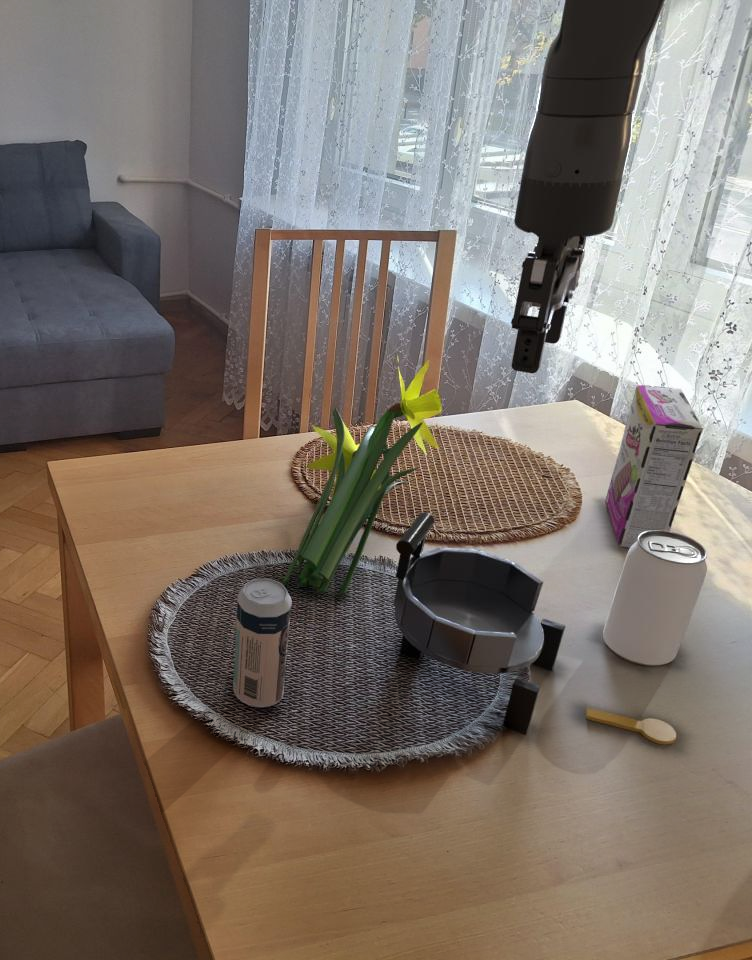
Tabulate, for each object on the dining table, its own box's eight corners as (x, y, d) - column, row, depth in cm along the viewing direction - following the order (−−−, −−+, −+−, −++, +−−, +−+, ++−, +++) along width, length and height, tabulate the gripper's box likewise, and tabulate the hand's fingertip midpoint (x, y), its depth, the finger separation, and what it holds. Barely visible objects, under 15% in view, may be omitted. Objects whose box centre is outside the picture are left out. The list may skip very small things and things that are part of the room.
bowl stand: (554, 665, 84) (565, 625, 81) (525, 735, 76) (537, 692, 74) (421, 619, 90) (428, 580, 88) (383, 678, 83) (389, 638, 80)
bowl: (557, 615, 82) (581, 539, 78) (522, 695, 73) (548, 615, 69) (416, 566, 89) (431, 494, 85) (368, 633, 80) (382, 556, 76)
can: (681, 674, 82) (720, 571, 76) (605, 660, 84) (637, 558, 78) (668, 633, 87) (704, 533, 81) (597, 620, 89) (627, 522, 83)
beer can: (292, 704, 80) (302, 601, 74) (245, 716, 79) (251, 612, 73) (270, 671, 84) (277, 571, 78) (224, 682, 83) (229, 581, 77)
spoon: (587, 701, 79) (586, 704, 79) (587, 721, 77) (586, 725, 77) (675, 723, 76) (673, 726, 76) (678, 745, 74) (676, 748, 74)
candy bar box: (601, 501, 110) (635, 383, 102) (645, 507, 108) (683, 387, 100) (615, 548, 101) (653, 422, 93) (663, 555, 99) (707, 427, 91)
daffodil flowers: (218, 572, 101) (322, 396, 121) (321, 646, 100) (408, 456, 120) (287, 505, 87) (391, 319, 107) (407, 589, 86) (488, 386, 107)
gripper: (608, 189, 64) (564, 390, 72) (636, 159, 74) (595, 338, 82) (502, 183, 68) (471, 374, 76) (542, 155, 78) (512, 326, 86)
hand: (535, 355), depth 79 cm, fingers open, 8 cm apart
